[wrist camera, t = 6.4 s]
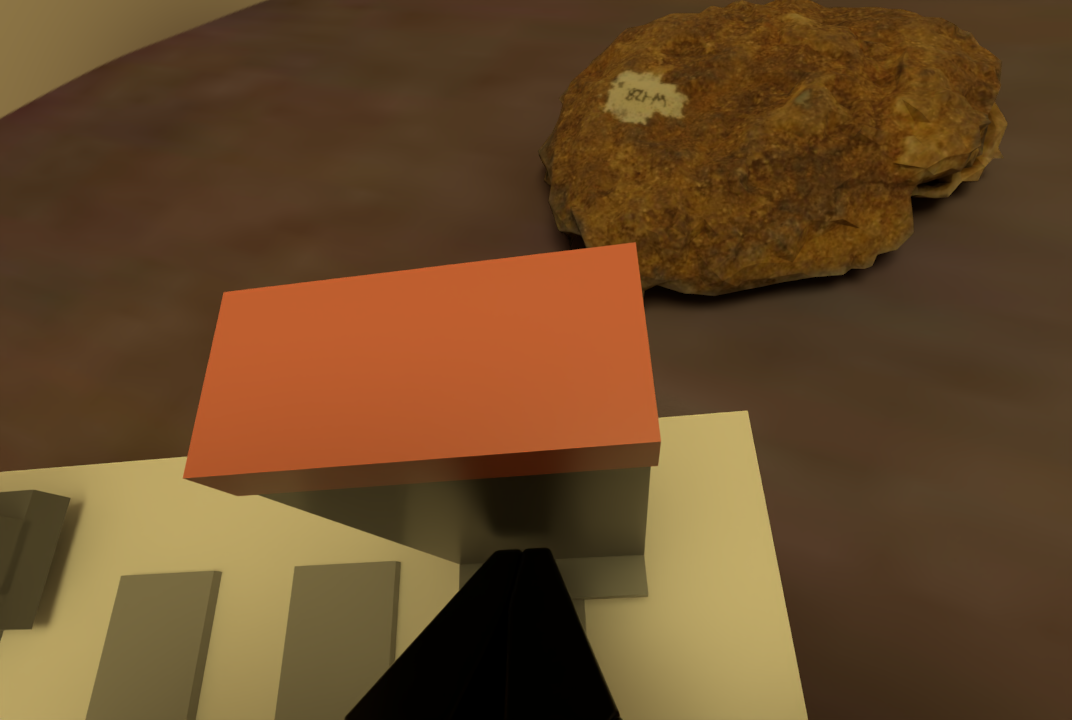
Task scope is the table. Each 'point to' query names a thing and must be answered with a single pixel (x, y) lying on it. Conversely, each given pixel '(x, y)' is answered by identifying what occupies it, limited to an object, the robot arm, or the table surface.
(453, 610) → the robot arm
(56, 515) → the switch
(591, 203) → the decorative rock
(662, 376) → the table surface
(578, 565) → the switch
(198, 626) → the cream lever base
